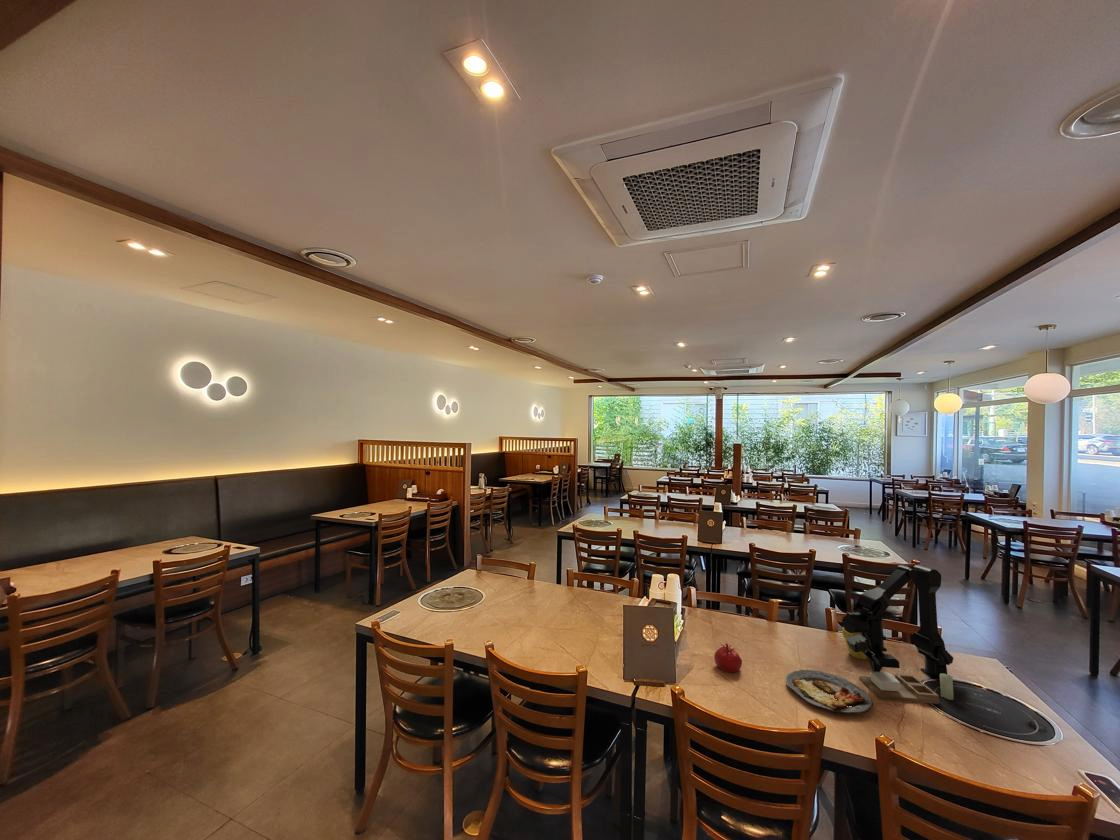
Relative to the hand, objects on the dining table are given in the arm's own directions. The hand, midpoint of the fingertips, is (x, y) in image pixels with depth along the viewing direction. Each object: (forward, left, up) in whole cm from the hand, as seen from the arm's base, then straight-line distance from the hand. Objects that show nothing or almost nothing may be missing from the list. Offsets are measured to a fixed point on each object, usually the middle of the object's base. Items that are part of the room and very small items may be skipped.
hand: (875, 674), depth 150 cm
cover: (+6, 0, -1) cm, 6 cm away
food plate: (+11, -21, -3) cm, 24 cm away
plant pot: (-19, +5, -3) cm, 20 cm away
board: (+5, +4, -2) cm, 7 cm away
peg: (+7, +19, -3) cm, 20 cm away
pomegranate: (-3, -50, -3) cm, 51 cm away
